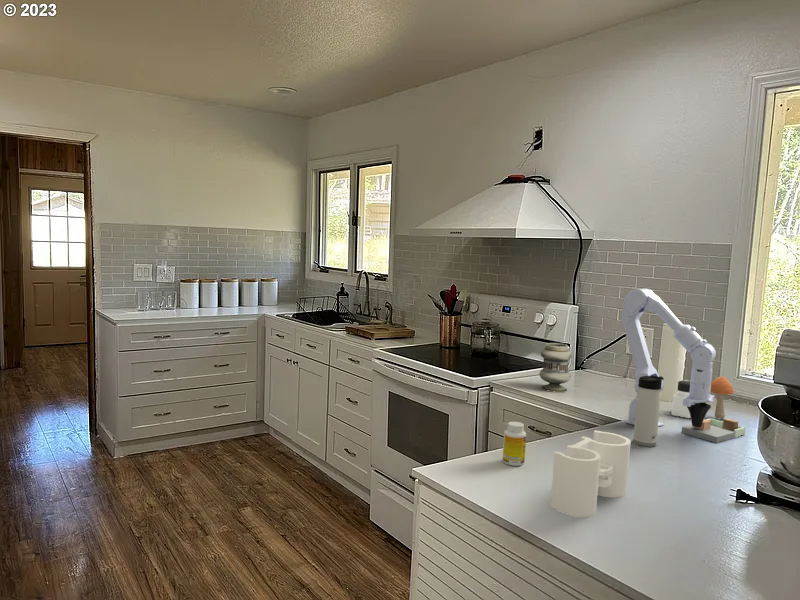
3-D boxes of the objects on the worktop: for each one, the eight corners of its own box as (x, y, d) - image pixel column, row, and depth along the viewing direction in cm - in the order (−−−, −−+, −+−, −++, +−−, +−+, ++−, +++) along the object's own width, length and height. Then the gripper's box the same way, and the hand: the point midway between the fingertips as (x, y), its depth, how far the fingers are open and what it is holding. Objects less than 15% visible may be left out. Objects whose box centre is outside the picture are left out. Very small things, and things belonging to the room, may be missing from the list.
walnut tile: (734, 422, 188) (738, 421, 190) (723, 419, 191) (727, 418, 192) (733, 434, 189) (737, 433, 190) (722, 431, 191) (725, 430, 193)
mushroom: (704, 419, 206) (709, 376, 205) (705, 414, 213) (709, 372, 212) (731, 423, 203) (735, 379, 201) (730, 418, 210) (735, 375, 208)
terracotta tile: (703, 430, 187) (704, 422, 187) (692, 427, 190) (693, 419, 189) (710, 428, 189) (711, 421, 189) (699, 425, 192) (700, 418, 192)
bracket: (588, 522, 123) (593, 465, 122) (544, 507, 129) (548, 452, 128) (633, 489, 142) (637, 438, 141) (593, 477, 148) (597, 429, 147)
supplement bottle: (525, 467, 152) (528, 427, 151) (503, 465, 153) (506, 426, 152) (522, 459, 158) (525, 421, 157) (501, 458, 158) (503, 419, 157)
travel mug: (659, 448, 173) (665, 379, 171) (635, 445, 174) (641, 377, 172) (654, 441, 179) (661, 374, 177) (631, 439, 180) (637, 372, 178)
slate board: (716, 443, 181) (717, 437, 180) (681, 432, 190) (682, 426, 189) (735, 437, 187) (735, 432, 187) (700, 427, 196) (700, 422, 196)
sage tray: (735, 437, 187) (735, 430, 187) (700, 427, 196) (700, 420, 196) (744, 435, 190) (745, 427, 190) (709, 425, 199) (710, 418, 199)
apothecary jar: (532, 386, 243) (535, 342, 241) (556, 385, 248) (559, 341, 246) (551, 394, 232) (555, 347, 230) (576, 392, 237) (580, 346, 235)
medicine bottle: (693, 419, 206) (696, 384, 204) (671, 415, 210) (674, 381, 209) (697, 415, 211) (701, 381, 210) (676, 411, 216) (679, 378, 214)
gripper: (700, 388, 179) (696, 433, 180) (725, 383, 187) (721, 426, 188) (678, 383, 185) (673, 426, 186) (703, 379, 193) (699, 420, 194)
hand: (696, 426), depth 187 cm, fingers closed
